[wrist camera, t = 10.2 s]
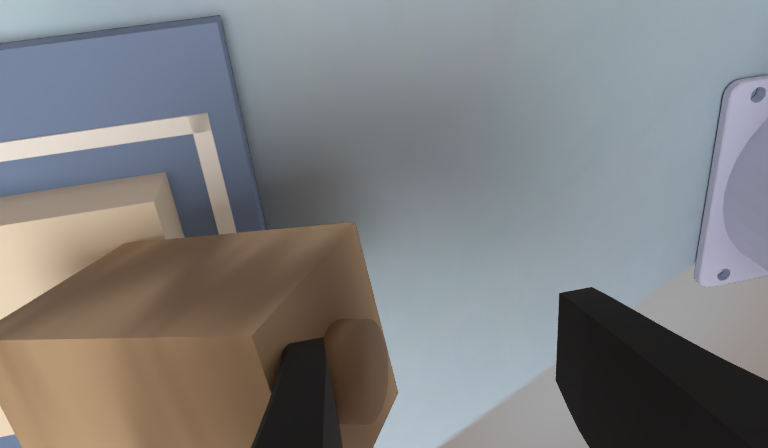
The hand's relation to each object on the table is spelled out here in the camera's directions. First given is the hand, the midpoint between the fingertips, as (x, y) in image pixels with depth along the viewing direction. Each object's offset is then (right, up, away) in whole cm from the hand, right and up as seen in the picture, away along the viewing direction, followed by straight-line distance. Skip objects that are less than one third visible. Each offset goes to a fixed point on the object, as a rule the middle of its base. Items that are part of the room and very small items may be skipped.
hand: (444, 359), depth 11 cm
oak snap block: (-8, -1, +4) cm, 9 cm away
